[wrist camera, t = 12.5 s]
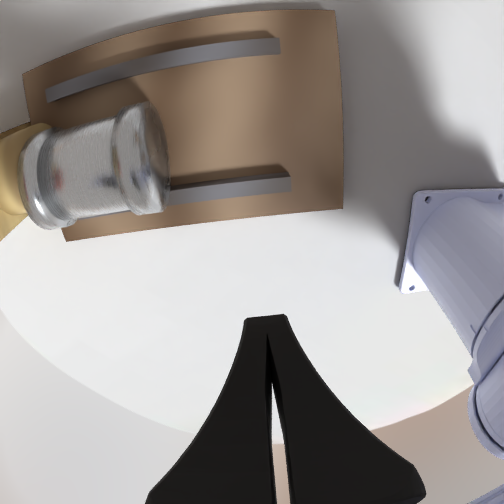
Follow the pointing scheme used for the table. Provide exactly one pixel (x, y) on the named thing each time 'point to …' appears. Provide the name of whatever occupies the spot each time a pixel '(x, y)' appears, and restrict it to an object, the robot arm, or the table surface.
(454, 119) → the table surface
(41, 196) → the pipe coupling
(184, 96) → the slider rig
